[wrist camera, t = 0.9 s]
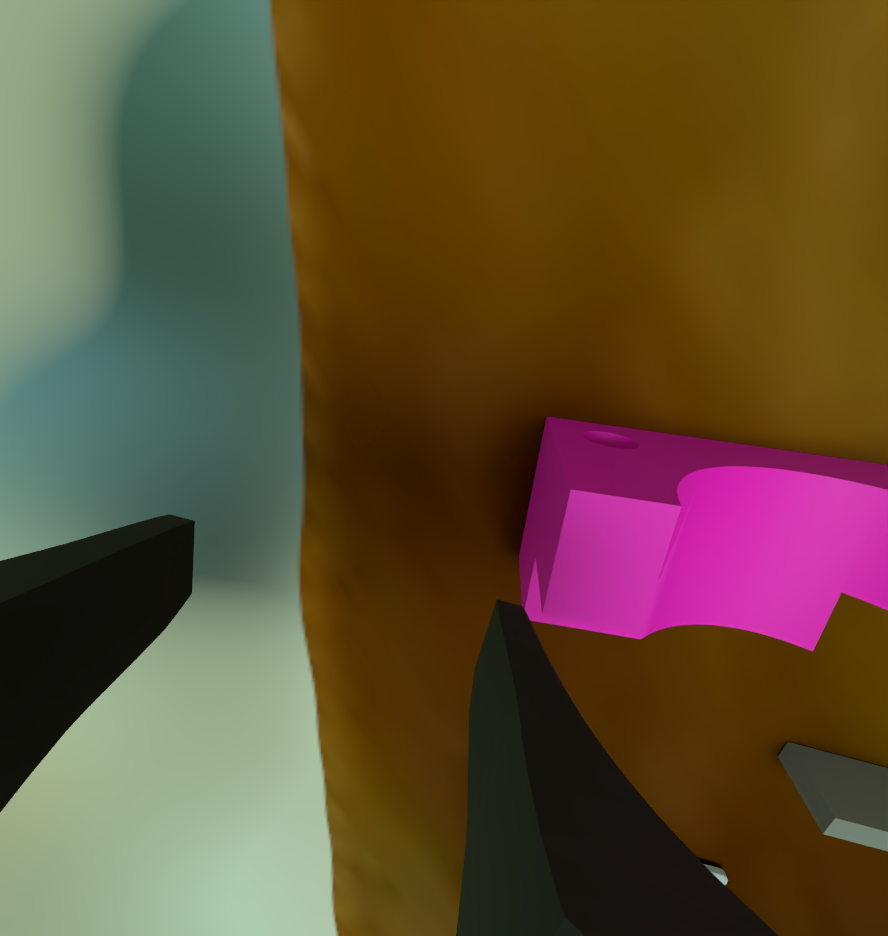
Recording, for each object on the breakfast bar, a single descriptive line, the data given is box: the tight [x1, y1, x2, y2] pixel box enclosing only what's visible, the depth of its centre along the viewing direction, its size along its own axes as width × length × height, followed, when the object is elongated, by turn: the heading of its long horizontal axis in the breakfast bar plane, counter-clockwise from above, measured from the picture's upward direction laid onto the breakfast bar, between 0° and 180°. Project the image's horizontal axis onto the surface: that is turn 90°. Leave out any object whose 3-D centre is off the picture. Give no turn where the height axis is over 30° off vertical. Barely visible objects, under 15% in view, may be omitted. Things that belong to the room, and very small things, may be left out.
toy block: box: [519, 417, 888, 651], centre depth 16 cm, size 15×6×8 cm, turn 83°
